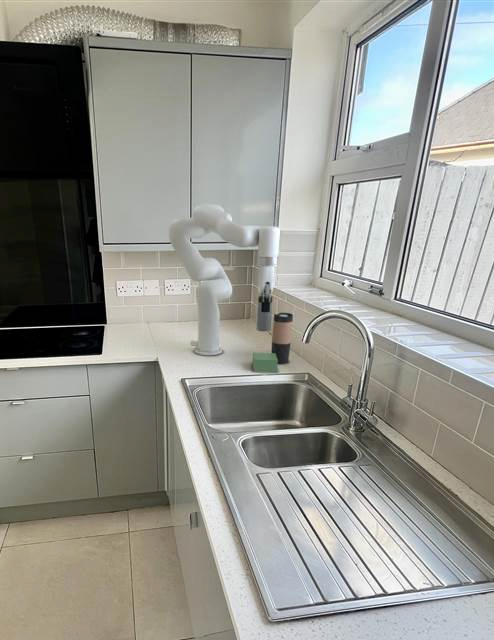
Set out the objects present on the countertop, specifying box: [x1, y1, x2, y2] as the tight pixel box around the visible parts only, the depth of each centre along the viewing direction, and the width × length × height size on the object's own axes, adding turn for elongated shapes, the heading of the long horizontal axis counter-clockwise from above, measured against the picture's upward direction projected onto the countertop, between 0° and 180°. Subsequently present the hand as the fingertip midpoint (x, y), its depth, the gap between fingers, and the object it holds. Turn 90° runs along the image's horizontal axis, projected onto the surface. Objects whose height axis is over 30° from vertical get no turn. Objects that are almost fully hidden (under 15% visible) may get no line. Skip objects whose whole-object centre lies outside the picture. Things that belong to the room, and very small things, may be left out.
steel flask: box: [256, 295, 274, 332], centre depth 157 cm, size 5×5×13 cm
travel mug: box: [270, 312, 294, 365], centre depth 168 cm, size 8×8×20 cm
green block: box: [252, 352, 279, 373], centre depth 163 cm, size 9×9×5 cm
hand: (264, 309), depth 157 cm, fingers closed on steel flask, 5 cm apart
